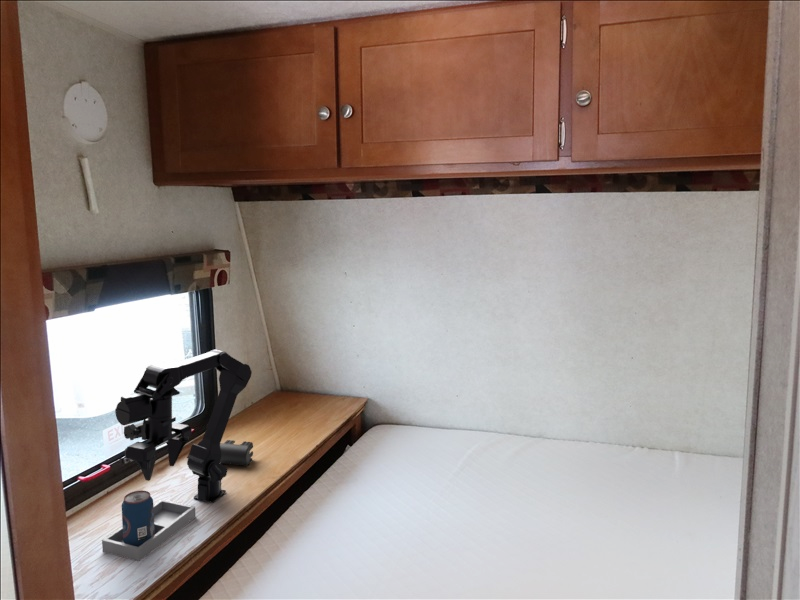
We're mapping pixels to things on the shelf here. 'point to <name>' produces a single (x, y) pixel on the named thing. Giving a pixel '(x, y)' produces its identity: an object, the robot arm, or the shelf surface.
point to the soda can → (137, 518)
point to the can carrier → (165, 525)
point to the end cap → (236, 453)
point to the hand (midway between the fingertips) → (160, 472)
